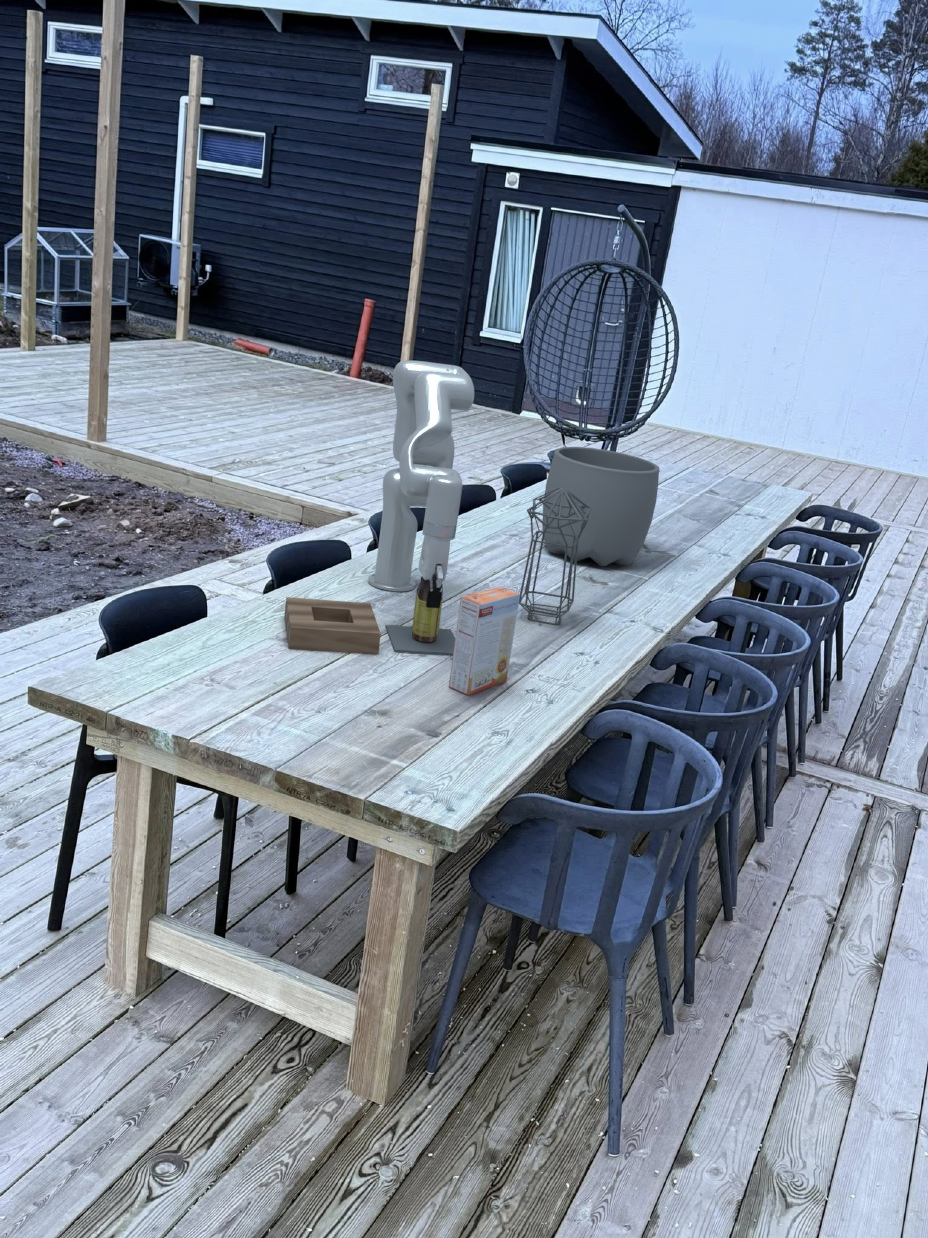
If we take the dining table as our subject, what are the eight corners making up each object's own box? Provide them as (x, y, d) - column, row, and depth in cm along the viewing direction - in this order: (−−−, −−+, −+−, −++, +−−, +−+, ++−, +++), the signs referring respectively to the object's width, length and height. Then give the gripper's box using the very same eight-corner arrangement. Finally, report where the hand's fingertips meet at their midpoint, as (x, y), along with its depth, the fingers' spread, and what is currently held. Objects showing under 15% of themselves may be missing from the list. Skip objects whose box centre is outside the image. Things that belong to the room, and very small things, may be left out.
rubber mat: (385, 626, 271) (385, 624, 270) (450, 631, 274) (450, 629, 274) (394, 652, 256) (394, 649, 256) (462, 656, 260) (463, 654, 259)
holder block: (284, 616, 267) (286, 597, 265) (367, 622, 271) (370, 603, 270) (288, 648, 248) (290, 627, 247) (378, 654, 253) (380, 633, 251)
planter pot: (523, 555, 348) (540, 455, 338) (547, 533, 379) (563, 441, 369) (634, 580, 340) (655, 478, 330) (649, 556, 371) (669, 462, 360)
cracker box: (486, 673, 252) (500, 585, 245) (507, 682, 249) (522, 593, 242) (445, 686, 241) (460, 594, 234) (467, 696, 238) (482, 603, 231)
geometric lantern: (569, 633, 286) (591, 499, 274) (508, 622, 288) (527, 489, 277) (576, 614, 301) (596, 486, 289) (518, 604, 303) (536, 476, 291)
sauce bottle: (423, 632, 269) (433, 552, 263) (442, 640, 266) (454, 560, 259) (404, 637, 264) (415, 556, 258) (424, 645, 261) (435, 563, 254)
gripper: (417, 517, 263) (407, 586, 269) (429, 538, 247) (419, 612, 253) (448, 520, 265) (438, 589, 270) (462, 541, 249) (451, 614, 255)
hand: (429, 600), depth 262 cm, fingers open, 9 cm apart
